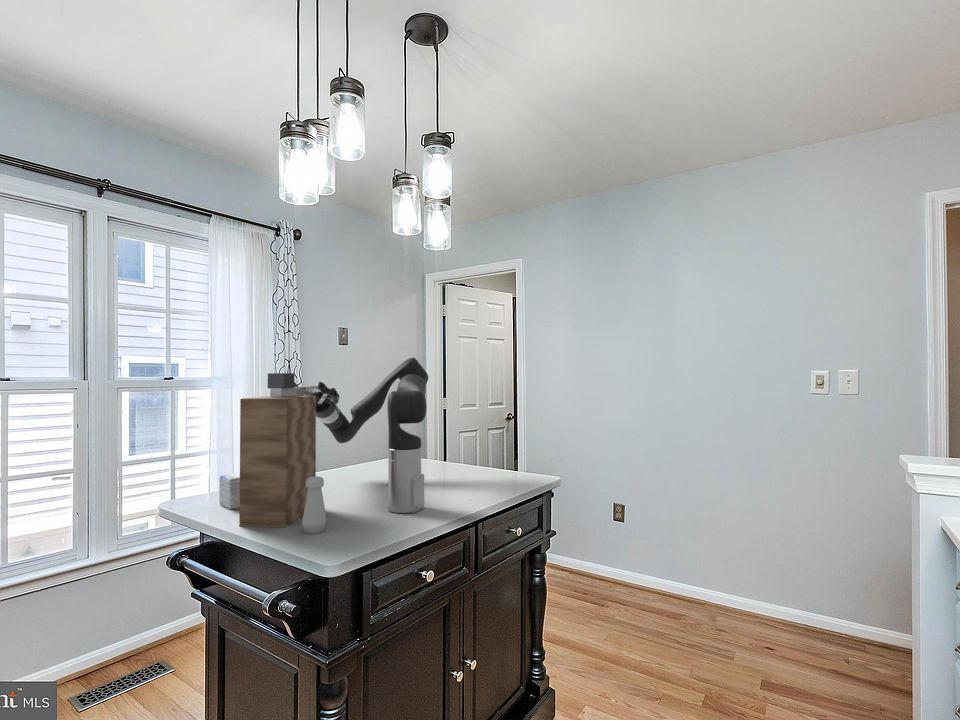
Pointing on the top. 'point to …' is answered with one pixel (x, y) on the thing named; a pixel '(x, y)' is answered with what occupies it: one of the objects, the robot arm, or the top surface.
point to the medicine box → (230, 491)
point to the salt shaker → (314, 507)
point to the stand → (276, 458)
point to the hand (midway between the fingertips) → (305, 384)
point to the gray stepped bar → (287, 386)
